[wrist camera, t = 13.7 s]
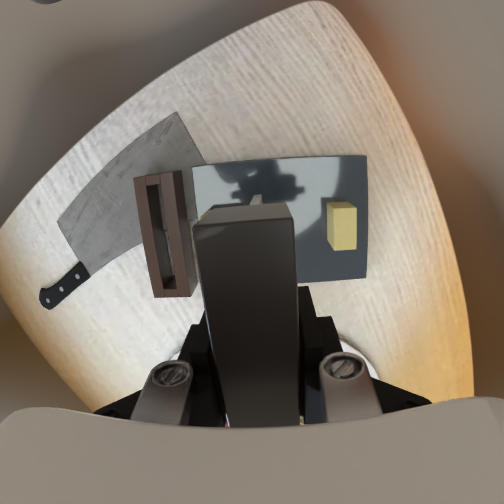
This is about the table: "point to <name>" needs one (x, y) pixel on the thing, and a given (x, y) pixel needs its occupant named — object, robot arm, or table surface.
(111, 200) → the cleaver
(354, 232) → the butter slice
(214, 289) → the bench scraper
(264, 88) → the table surface
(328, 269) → the butter dish
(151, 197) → the block
